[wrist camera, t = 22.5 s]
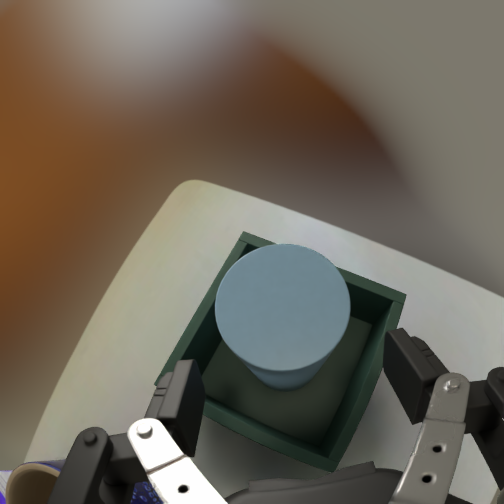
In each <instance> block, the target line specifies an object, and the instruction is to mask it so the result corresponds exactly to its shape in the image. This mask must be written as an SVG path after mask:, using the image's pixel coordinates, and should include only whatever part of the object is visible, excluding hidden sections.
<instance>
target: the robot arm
mask: <svg viewBox="0 0 504 504" xmlns="http://www.w3.org/2000/svg"><path fill="white" fill-rule="evenodd" d="M383 368H384V372H385V375H386V376H387V378H388V380H389V382H390V384H391V386H392V387H393V389H394V391H395V393H396V395H397V397H398V398H399V400H400V402H401V404H402V406H403V408H404V410H405V412H406V414H407V416H408V417H409V419H410V421H411V423H412V425H414V424H417V423H420V422H422V426H421V429H420V432H419V435H418V437H417V440H416V443H415V445H414V448H413V451H412V453H411V455H410V458H409V460H408V463H407V465H406V467H405V470H404V472H401V471H398V470H394V469H387V468H375V465H374V462H373V461H370V462H366V463H362V464H358V465H354V466H350V467H345V468H342V469H340V470H337V471H335V472H332V473H330V474H327V475H325V476H322V477H320V478H317V479H314V480H302V479H288V478H273V479H261V480H249V488H248V489H244V490H241V491H238V492H236V493H234V494H232V495H230V496H228V497H226V498H225V499H223V498H222V497H221V495H220V494H219V493H218V492H217V491H216V490H215V489H214V488H213V486H212V485H211V484H210V483H209V482H208V481H207V479H206V478H205V477H204V476H203V475H202V473H201V472H200V471H199V470H198V468H197V467H196V466H195V465H194V463H193V462H192V461H191V460H190V458H189V457H194V456H195V450H196V445H197V440H198V435H199V430H200V425H201V420H202V415H203V410H204V405H205V399H206V394H205V387H204V384H203V381H202V378H201V374H200V371H199V368H198V365H197V362H196V360H195V359H193V360H178V361H177V362H176V365H175V367H174V370H173V372H167V373H166V374H165V375H164V376H163V377H162V378H161V379H160V380H159V382H158V385H157V387H156V390H155V392H154V396H153V397H152V399H151V402H150V404H149V407H148V409H147V412H146V414H145V417H144V419H141V420H138V421H136V422H135V423H133V424H132V425H131V426H130V428H129V429H128V432H127V433H123V434H117V435H111V436H108V434H107V433H106V431H105V430H104V429H102V428H99V427H91V428H87V429H85V430H83V431H82V432H81V433H79V435H78V436H77V438H76V440H75V442H74V444H73V446H72V448H71V450H70V452H69V454H68V456H67V458H66V461H65V463H64V465H63V467H62V469H61V471H60V474H59V476H58V478H57V480H56V482H55V485H54V487H53V489H52V492H51V494H50V496H49V499H48V501H47V503H46V504H131V500H132V496H133V492H134V488H135V484H136V483H139V482H146V481H150V482H151V484H152V485H153V487H154V489H155V490H156V492H157V494H158V495H159V497H160V498H161V500H162V502H163V503H164V504H472V503H470V502H467V501H465V500H463V499H460V498H458V497H456V496H453V495H451V494H449V493H448V492H449V488H450V485H451V482H452V479H453V476H454V472H455V469H456V465H457V461H458V458H459V454H460V450H461V445H462V441H463V437H464V434H468V433H471V434H472V436H473V438H474V440H475V442H476V444H477V445H478V447H479V449H480V451H481V453H482V455H483V457H484V459H485V461H486V463H487V464H488V466H489V468H490V470H491V472H492V474H493V476H494V479H495V481H496V483H497V485H498V487H499V489H500V491H501V492H500V493H499V495H498V498H497V504H504V421H503V419H504V367H497V368H494V369H492V370H491V371H490V372H489V374H488V376H487V380H481V381H473V382H469V381H468V379H467V378H466V377H465V376H463V375H461V374H458V373H450V372H449V371H448V370H447V368H446V367H445V366H444V365H443V363H442V362H441V361H440V360H439V359H438V357H437V356H436V355H434V352H433V351H432V350H431V349H430V348H429V346H428V345H427V344H426V343H425V342H424V341H423V340H421V339H419V338H417V337H415V336H414V337H410V336H409V335H408V333H407V332H406V331H405V330H404V329H403V328H399V329H395V330H391V331H387V332H386V333H385V337H384V352H383ZM502 418H503V419H502Z"/></svg>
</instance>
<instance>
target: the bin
mask: <svg viewBox="0 0 504 504" xmlns="http://www.w3.org/2000/svg"><path fill="white" fill-rule="evenodd" d="M273 244H276V243H273V242H271V241H268V240H265V239H263V238H260V237H257V236H255V235H252V234H249V233H247V232H244V231H243V233H242V234H241V236H240V238H239V239H238V241H237V243H236V244H235V246H234V248H233V249H232V251H231V253H230V255H229V256H228V258H227V260H226V261H225V263H224V265H223V266H222V268H221V270H220V271H219V273H218V275H217V276H216V278H215V280H214V282H213V283H212V285H211V287H210V288H209V290H208V292H207V293H206V295H205V297H204V299H203V300H202V302H201V304H200V305H199V307H198V309H197V311H196V312H195V314H194V316H193V317H192V319H191V321H190V323H189V324H188V326H187V328H186V330H185V331H184V333H183V335H182V336H181V338H180V340H179V342H178V343H177V345H176V347H175V349H174V350H173V352H172V354H171V356H170V357H169V359H168V361H167V363H166V364H165V366H164V368H163V370H162V371H161V373H160V375H159V376H158V378H157V380H156V382H155V383H154V385H155V386H157V385H158V382H159V380H160V379H161V378H162V377H163V376H164V375H165V374H166V373H167V372H173V370H174V367H175V365H176V362H177V361H178V360H193V359H195V360H196V362H197V365H198V368H199V371H200V374H201V378H202V381H203V384H204V387H205V394H206V399H205V405H204V410H203V415H205V416H206V417H208V418H210V419H212V420H214V421H216V422H217V423H219V424H221V425H223V426H225V427H227V428H229V429H231V430H233V431H235V432H237V433H239V434H241V435H243V436H245V437H247V438H249V439H251V440H253V441H255V442H257V443H259V444H261V445H264V446H266V447H268V448H270V449H272V450H275V451H277V452H279V453H282V454H284V455H286V456H289V457H291V458H294V459H296V460H299V461H301V462H304V463H306V464H309V465H311V466H314V467H317V468H320V469H322V470H325V471H328V472H331V473H332V472H334V471H335V470H336V468H337V466H338V464H339V462H340V460H341V458H342V457H343V455H344V453H345V451H346V449H347V447H348V445H349V443H350V441H351V439H352V437H353V435H354V433H355V431H356V429H357V427H358V425H359V422H360V420H361V418H362V416H363V414H364V411H365V409H366V407H367V405H368V402H369V400H370V398H371V395H372V393H373V391H374V388H375V386H376V383H377V381H378V378H379V376H380V373H381V371H382V368H383V352H384V337H385V333H386V332H387V331H391V330H395V329H396V328H397V325H398V322H399V319H400V316H401V312H402V309H403V305H404V302H405V299H406V294H404V293H402V292H399V291H397V290H394V289H392V288H389V287H387V286H384V285H382V284H379V283H376V282H374V281H371V280H369V279H366V278H364V277H361V276H359V275H356V274H354V273H351V272H349V271H346V270H343V269H341V268H338V267H336V266H335V267H336V268H337V269H338V271H339V272H340V274H341V275H342V277H343V279H344V281H345V283H346V285H347V288H348V291H349V296H350V318H349V322H348V325H347V328H346V331H345V333H344V335H343V337H342V338H341V340H340V342H339V343H338V345H337V346H336V347H335V349H334V350H333V352H332V353H331V354H330V356H329V357H328V358H327V360H326V361H325V362H324V364H323V365H322V366H321V368H320V369H319V370H318V372H317V373H316V374H315V376H314V377H313V378H312V379H311V381H310V382H309V383H308V384H306V385H305V386H304V387H302V388H300V389H298V390H295V391H290V392H281V391H276V390H273V389H271V388H269V387H268V386H266V385H265V384H264V383H263V382H262V381H261V380H260V379H259V378H258V377H257V376H256V375H255V374H254V373H253V372H252V371H251V370H250V369H249V368H248V367H247V366H246V365H245V364H244V363H243V362H242V361H241V360H240V359H239V358H238V357H237V356H236V355H235V354H234V352H233V351H232V350H231V349H230V348H229V347H228V345H227V344H226V343H225V341H224V339H223V338H222V336H221V334H220V331H219V329H218V326H217V322H216V316H215V302H216V295H217V292H218V288H219V286H220V284H221V281H222V280H223V278H224V276H225V275H226V273H227V272H228V270H229V269H230V268H231V267H232V266H233V265H234V264H235V263H236V262H237V261H238V260H239V259H241V258H242V257H243V256H245V255H246V254H248V253H250V252H252V251H254V250H256V249H258V248H261V247H264V246H269V245H273Z"/></svg>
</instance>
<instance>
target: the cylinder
mask: <svg viewBox="0 0 504 504" xmlns="http://www.w3.org/2000/svg"><path fill="white" fill-rule="evenodd" d="M215 316H216V322H217V326H218V329H219V331H220V334H221V336H222V338H223V339H224V341H225V343H226V344H227V345H228V347H229V348H230V349H231V350H232V351H233V352H234V354H235V355H236V356H237V357H238V358H239V359H240V360H241V361H242V362H243V363H244V364H245V365H246V366H247V367H248V368H249V369H250V370H251V371H252V372H253V373H254V374H255V375H256V376H257V377H258V378H259V379H260V380H261V381H262V382H263V383H264V384H265V385H266V386H268V387H269V388H271V389H273V390H276V391H281V392H290V391H295V390H298V389H300V388H302V387H304V386H305V385H306V384H308V383H309V382H310V381H311V379H312V378H313V377H314V376H315V374H316V373H317V372H318V370H319V369H320V368H321V366H322V365H323V364H324V362H325V361H326V360H327V358H328V357H329V356H330V354H331V353H332V352H333V350H334V349H335V347H336V346H337V345H338V343H339V342H340V340H341V338H342V337H343V335H344V333H345V331H346V328H347V325H348V322H349V318H350V296H349V291H348V288H347V285H346V283H345V281H344V279H343V277H342V275H341V274H340V272H339V271H338V269H337V268H336V267H335V266H334V265H333V264H332V263H331V262H330V261H329V260H328V259H327V258H325V257H324V256H323V255H321V254H320V253H318V252H316V251H314V250H312V249H309V248H307V247H303V246H299V245H294V244H273V245H269V246H264V247H261V248H258V249H256V250H254V251H252V252H250V253H248V254H246V255H245V256H243V257H242V258H241V259H239V260H238V261H237V262H236V263H235V264H234V265H233V266H232V267H231V268H230V269H229V270H228V272H227V273H226V275H225V276H224V278H223V280H222V281H221V284H220V286H219V288H218V292H217V295H216V302H215Z"/></svg>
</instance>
